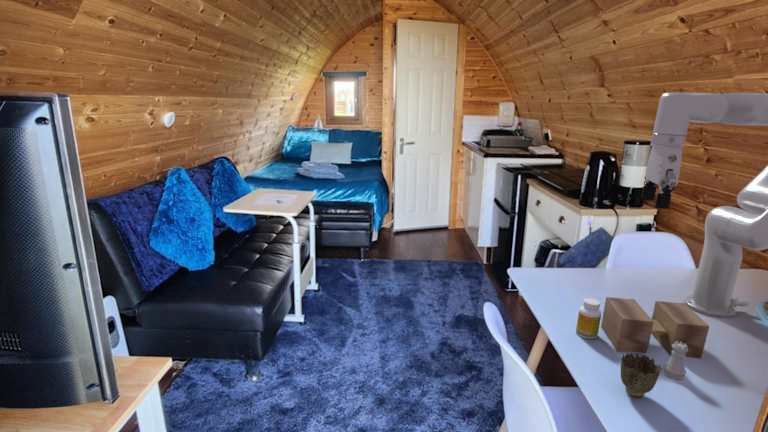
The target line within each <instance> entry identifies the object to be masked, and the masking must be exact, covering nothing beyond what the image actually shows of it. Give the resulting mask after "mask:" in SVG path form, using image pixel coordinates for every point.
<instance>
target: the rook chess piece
mask: <svg viewBox="0 0 768 432" xmlns="http://www.w3.org/2000/svg"><path fill="white" fill-rule="evenodd" d="M672 348H673V351H672V356H670V358H669V360H668V361H667V362H666V363H664V366H663V369H662V371H663V373H664V375H666V376H667V377H669V379H670V378H671V379H673V380H678V381H680V380H683V379H685V378H686V373H687V371H686V367H685V366H684V365H685V364H684V363H685V358H687V357H686V355H685V353H686V352H688V348H687V344H684V345H683V342H680V343H678V341H676V342H674V344H673V345H672Z"/></svg>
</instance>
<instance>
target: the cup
mask: <svg viewBox="0 0 768 432" xmlns="http://www.w3.org/2000/svg"><path fill="white" fill-rule="evenodd" d="M634 354H635V355H634ZM655 361H656V360H655V359H654V358H650V356H648V355H646V354H643V355H640V353H634V352H626V354H622V356H621V358H620V380H621V382H622V384H623V385H624V386H625V392H626V394H628V396H630V397H632V398H636V399H641V398H643V397H644V396H645V395H646V394H647V393H649V392H651V391H652V390H653V389H654V387H655V385H656V384H657V381H658V379H659V376H660V373H661V372H662V370H663V369H662V368H661V367H662V366H661V364H660V363H659V364H655Z"/></svg>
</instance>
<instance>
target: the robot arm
mask: <svg viewBox="0 0 768 432" xmlns="http://www.w3.org/2000/svg"><path fill="white" fill-rule="evenodd" d="M690 122H691V123H698V124H699V123H701V124H712V123H713V124H714V123H719V124H723V125H733V126H757V127H759V126H760V127H761V126H763V127H764V126H765V127H768V93H767V92H766V93H761V92H731V93H730V92H729V93H728V92H727V93H725V92H724V93H714V92H713V93H712V92H670V91H669V92H665V93H662V95H661V96H660V98H659V101H658V107H657V111H656V115H655V121H654V126H653V131H652V136H651V140H650V146H651V150H650V153H649V157H648V161H647V164H646V168H645V175H644V182H643V189H642V193H641V200H644V201H654V200H655V197H656V200H655V202H654V203H655V204H654V208H655V209H662V210H668V209H669V207H670V203H671V199H672V195H673V193H674V189H675V187H676V186H677V185H678V183H679V178H680V173H681V167H682V161H683V160H682V157H683V149H684V147H685V142H686V139H687V138H686V137H687V133H688V129H689V125H690ZM656 185H657V186H658V187H657V186H656ZM657 188H658V191H659V192H657ZM656 192H657V194H656ZM736 202H737V205H738V206H739V207H740V208H738V207H734V206H730V205H722V206H717V207H714V208H712V209H711V210H710V211H709V212H708V213H707V215H706V217H705V222H704V242H703V247H702V252H701V255H700V260H699V264H698V269H697V273H696V277H695V281H694V285H693V290H692V293H691V295H688V296H685V298H684V303H685V304H686V305H687V306H688V307H689V308H690V309H691V310H692V311H695V312H698V313H701V314H703V315H707V316H712V317H716V318H730V317H733V316H734V315H735V314H736V309H735V308H737V307H741V308H742V307H743V308H744V307H746V308H748V307H749V300H747V299H746V300H745V299H739V297H737V296H733V294H734V292H735V286H736V284H737V280H738V276H739V273H740V268H741V265H742V261H743V248H747V249H748V250H752V251H763V250H767V249H768V164H767V165H766V166H765V167H764V168H763V170H761V171H759V173H758V174H757V175H756V176H755V177H754V178H753V179H752V180H751V181H750V182H749V183H748V184H747V185H746V186H744V187H743V189H741V190H740V192H738V195H737V197H736ZM742 247H743V248H742Z"/></svg>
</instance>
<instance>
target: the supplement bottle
mask: <svg viewBox="0 0 768 432" xmlns="http://www.w3.org/2000/svg"><path fill="white" fill-rule="evenodd" d="M600 306H601V301H600V300H598V299H595V298H591V297H590V298H589V297H586V298H584V299H583V302H582V305H581V306H580V307H579V310H578V316H577V322H576V327H575V333H576V334H577V335H578V336H579V337H581V338H583V339H588V340H594V339H595V340H596V338H597V337H598V335H599V330H600V326H601V325H600V323H601V320H602V310H601V309H600Z"/></svg>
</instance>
